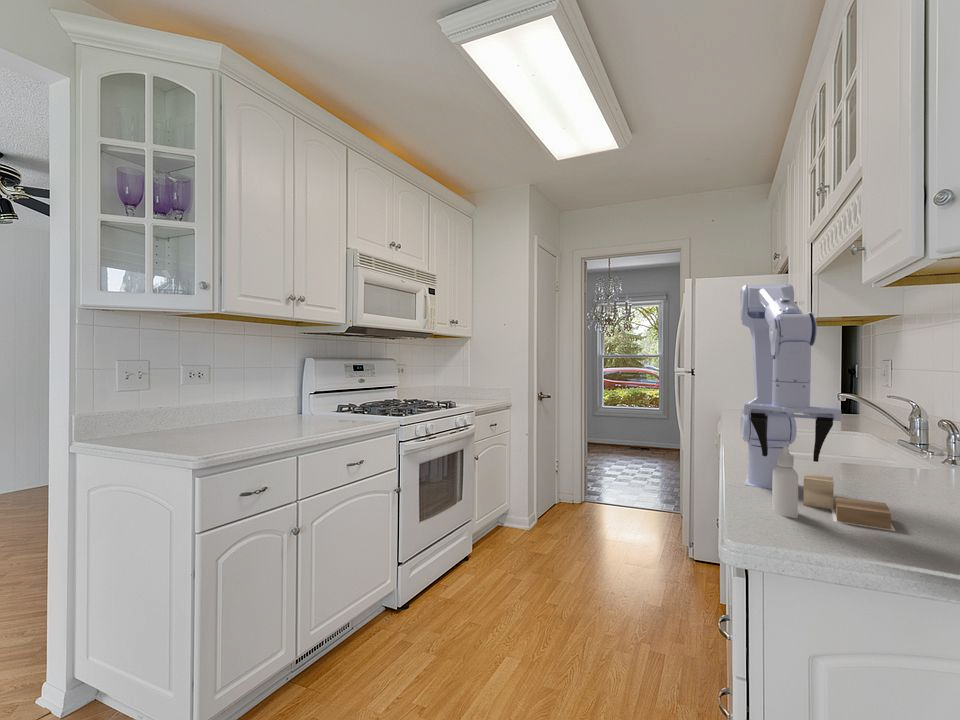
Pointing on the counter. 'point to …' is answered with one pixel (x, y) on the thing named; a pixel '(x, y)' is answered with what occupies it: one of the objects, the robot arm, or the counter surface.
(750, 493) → the counter surface
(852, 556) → the counter surface
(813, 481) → the beech block
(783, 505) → the eye dropper bottle
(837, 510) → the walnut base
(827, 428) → the robot arm
